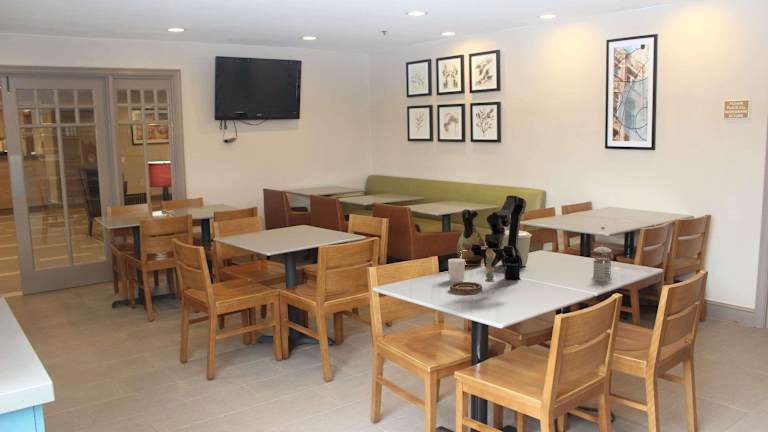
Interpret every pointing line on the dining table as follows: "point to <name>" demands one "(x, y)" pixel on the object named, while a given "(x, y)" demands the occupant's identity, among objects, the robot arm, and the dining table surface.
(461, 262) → the white cup
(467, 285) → the groove tray
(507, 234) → the canister
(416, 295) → the dining table surface
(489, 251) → the post
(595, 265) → the french press
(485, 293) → the dining table surface
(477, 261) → the ceramic jug
